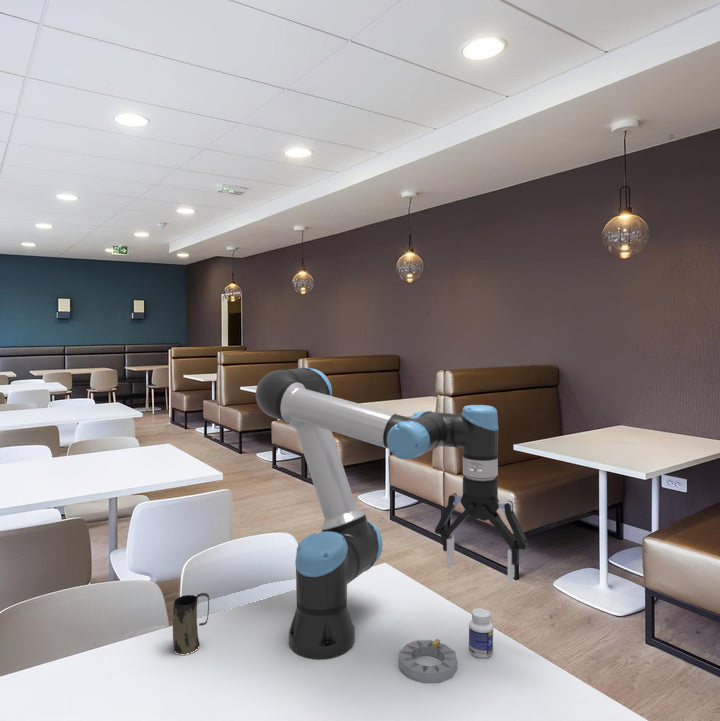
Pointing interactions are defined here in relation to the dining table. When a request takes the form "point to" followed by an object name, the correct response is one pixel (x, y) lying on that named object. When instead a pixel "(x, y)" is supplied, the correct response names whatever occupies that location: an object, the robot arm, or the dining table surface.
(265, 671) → the dining table surface
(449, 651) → the hub
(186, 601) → the mug
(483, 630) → the pill bottle
